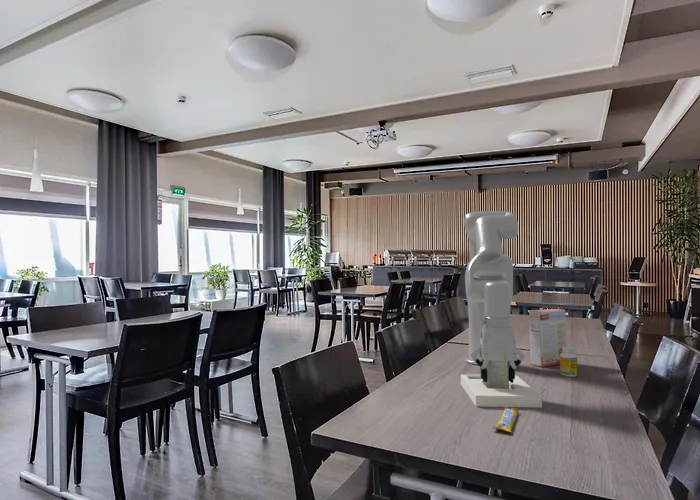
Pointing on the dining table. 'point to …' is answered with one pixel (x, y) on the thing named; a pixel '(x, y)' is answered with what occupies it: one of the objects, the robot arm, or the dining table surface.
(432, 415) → the dining table surface
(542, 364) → the cracker box
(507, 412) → the candy bar
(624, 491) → the dining table surface
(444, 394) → the dining table surface
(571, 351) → the supplement bottle
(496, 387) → the skincare box
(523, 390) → the socket plate
